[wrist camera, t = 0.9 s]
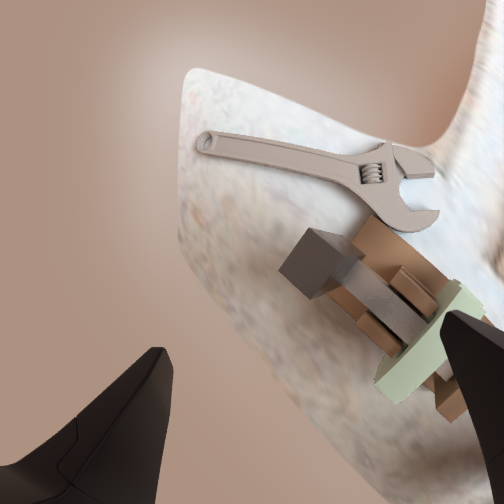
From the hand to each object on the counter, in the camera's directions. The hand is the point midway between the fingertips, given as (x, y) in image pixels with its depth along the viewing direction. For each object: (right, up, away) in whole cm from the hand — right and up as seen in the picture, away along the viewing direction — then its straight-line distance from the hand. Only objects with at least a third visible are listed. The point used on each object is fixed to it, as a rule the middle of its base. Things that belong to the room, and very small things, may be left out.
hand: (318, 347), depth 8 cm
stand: (+10, -2, +11) cm, 15 cm away
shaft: (+7, -1, +7) cm, 10 cm away
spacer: (+10, -2, +8) cm, 13 cm away
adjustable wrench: (+3, +11, +16) cm, 20 cm away
